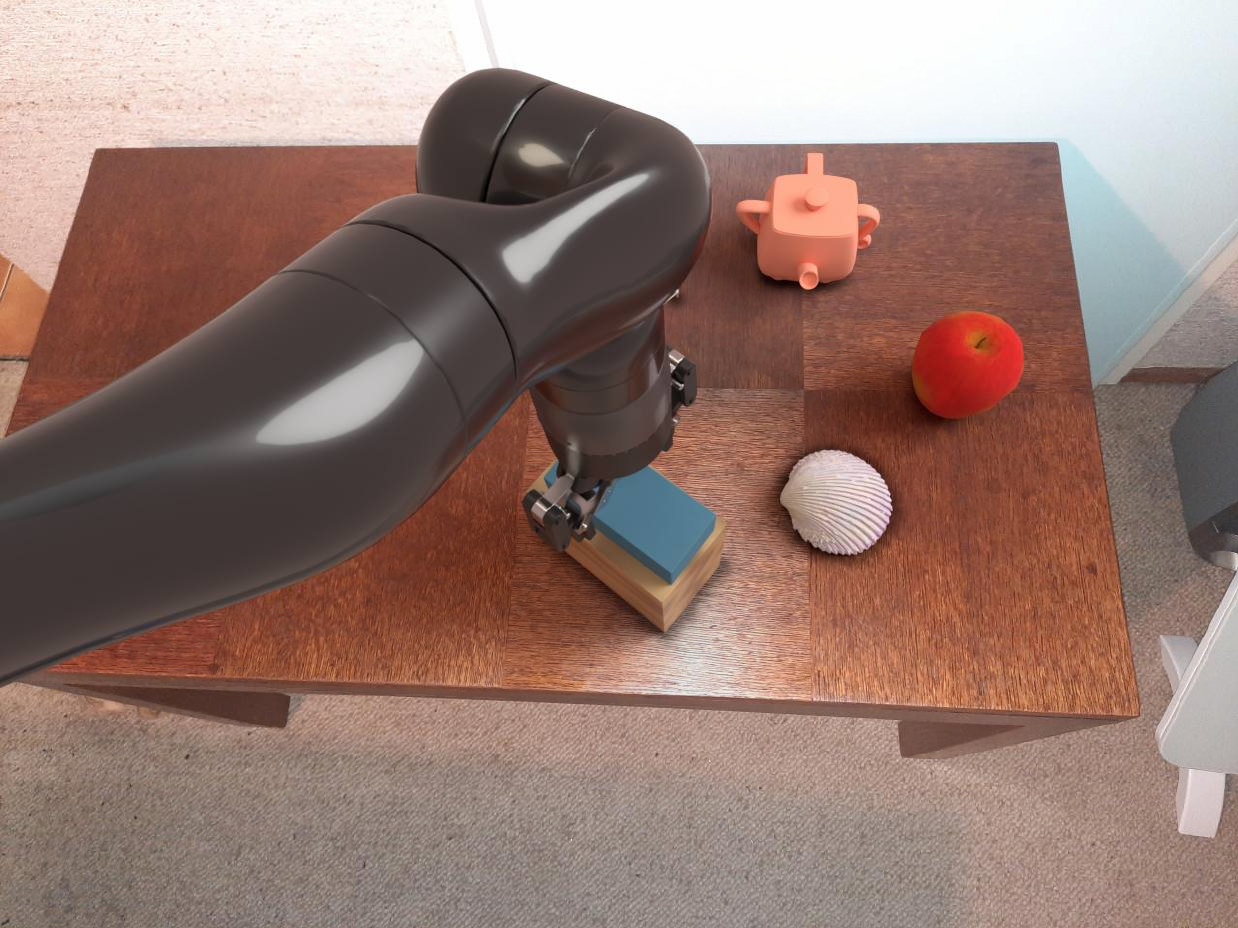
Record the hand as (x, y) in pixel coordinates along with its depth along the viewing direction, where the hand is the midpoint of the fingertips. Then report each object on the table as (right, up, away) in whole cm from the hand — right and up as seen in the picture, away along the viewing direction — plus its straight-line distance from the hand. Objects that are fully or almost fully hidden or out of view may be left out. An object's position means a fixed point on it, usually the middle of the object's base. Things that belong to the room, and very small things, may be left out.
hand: (621, 484), depth 61 cm
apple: (+32, +8, +22) cm, 39 cm away
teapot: (+19, +23, +28) cm, 41 cm away
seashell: (+20, -2, +19) cm, 28 cm away
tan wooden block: (+1, -7, +18) cm, 20 cm away
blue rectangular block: (+1, -2, +5) cm, 6 cm away
